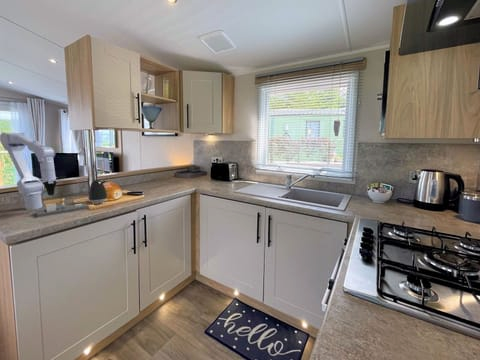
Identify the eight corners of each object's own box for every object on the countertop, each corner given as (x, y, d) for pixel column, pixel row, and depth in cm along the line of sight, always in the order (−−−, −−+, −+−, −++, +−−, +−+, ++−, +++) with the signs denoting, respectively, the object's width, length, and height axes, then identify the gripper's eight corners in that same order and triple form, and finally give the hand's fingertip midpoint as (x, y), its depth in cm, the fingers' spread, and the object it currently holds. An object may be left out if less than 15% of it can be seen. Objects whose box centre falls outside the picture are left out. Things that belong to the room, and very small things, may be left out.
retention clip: (43, 203, 121) (43, 200, 121) (64, 200, 127) (64, 198, 127) (44, 204, 120) (43, 201, 119) (65, 201, 126) (64, 198, 125)
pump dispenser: (104, 205, 141) (102, 180, 139) (85, 205, 140) (83, 181, 137) (110, 201, 151) (109, 178, 149) (93, 201, 150) (91, 178, 147)
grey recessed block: (36, 214, 122) (34, 204, 121) (85, 206, 137) (84, 197, 136) (37, 219, 116) (36, 207, 115) (88, 210, 131) (87, 200, 130)
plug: (46, 212, 123) (45, 203, 122) (55, 211, 126) (54, 202, 125) (47, 214, 120) (46, 205, 119) (57, 212, 123) (55, 203, 122)
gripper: (36, 169, 125) (40, 193, 127) (39, 172, 115) (42, 198, 117) (53, 168, 130) (56, 191, 132) (57, 170, 120) (60, 196, 122)
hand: (51, 194), depth 125 cm, fingers closed
